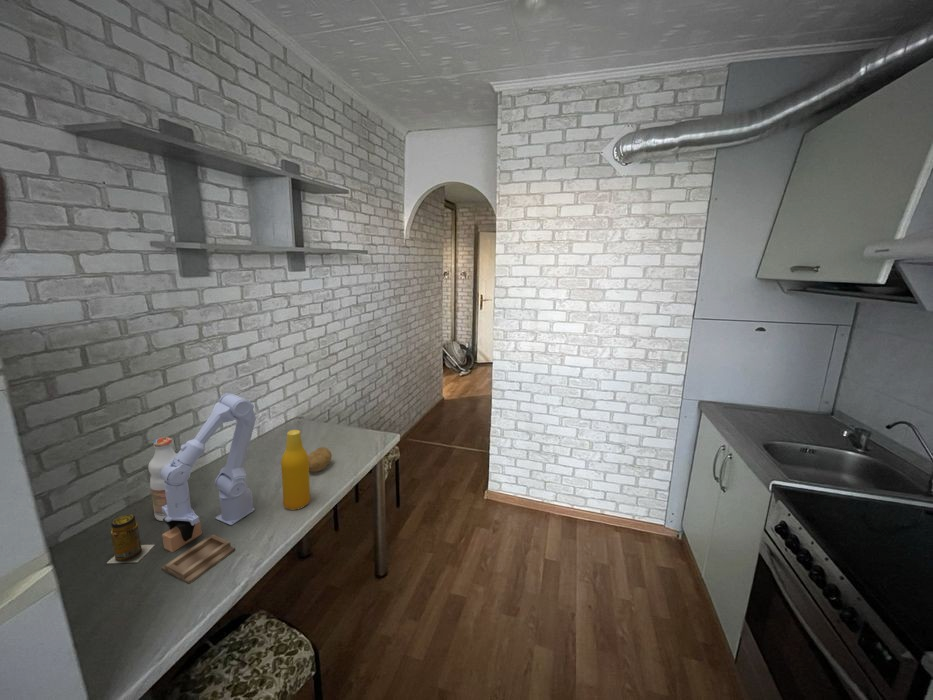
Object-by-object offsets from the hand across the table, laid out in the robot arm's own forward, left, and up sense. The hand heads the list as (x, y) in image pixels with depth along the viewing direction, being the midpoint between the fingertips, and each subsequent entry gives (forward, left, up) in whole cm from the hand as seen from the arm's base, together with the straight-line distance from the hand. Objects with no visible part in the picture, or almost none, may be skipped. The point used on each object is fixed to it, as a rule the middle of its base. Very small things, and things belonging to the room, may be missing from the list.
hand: (183, 536), depth 121 cm
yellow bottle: (-30, +17, -2) cm, 35 cm away
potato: (-52, +7, -2) cm, 52 cm away
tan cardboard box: (0, 0, -1) cm, 1 cm away
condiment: (+10, -8, -2) cm, 13 cm away
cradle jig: (+3, +12, -2) cm, 12 cm away
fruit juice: (-7, -17, -2) cm, 18 cm away
